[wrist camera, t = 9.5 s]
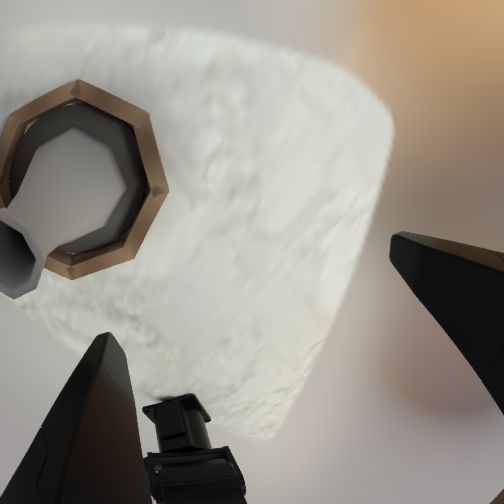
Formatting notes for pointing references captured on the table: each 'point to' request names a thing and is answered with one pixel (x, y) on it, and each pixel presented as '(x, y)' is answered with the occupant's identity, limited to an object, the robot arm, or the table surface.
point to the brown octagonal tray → (126, 153)
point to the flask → (56, 205)
